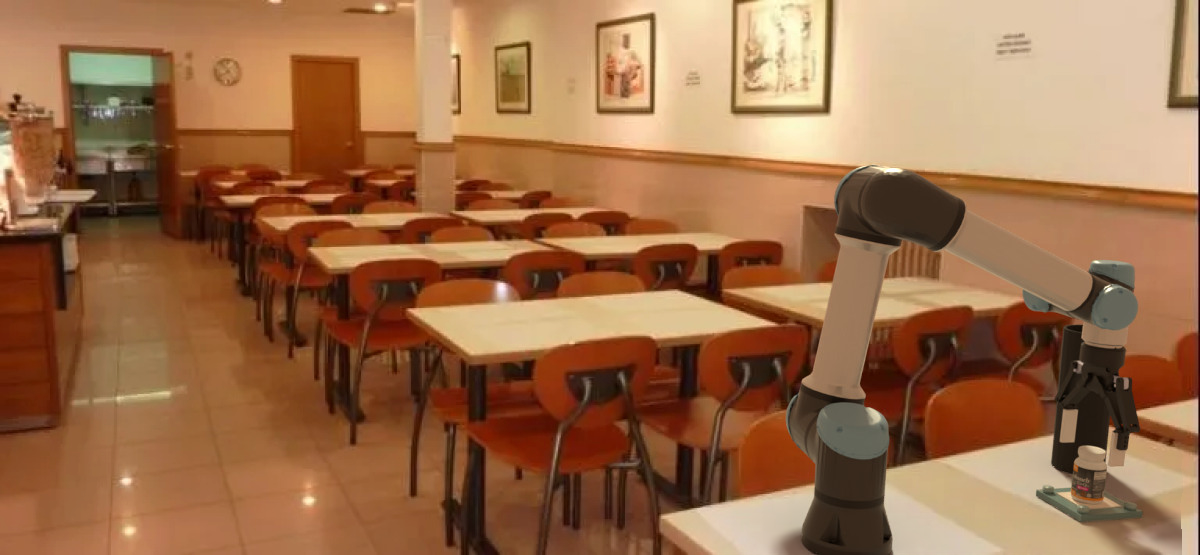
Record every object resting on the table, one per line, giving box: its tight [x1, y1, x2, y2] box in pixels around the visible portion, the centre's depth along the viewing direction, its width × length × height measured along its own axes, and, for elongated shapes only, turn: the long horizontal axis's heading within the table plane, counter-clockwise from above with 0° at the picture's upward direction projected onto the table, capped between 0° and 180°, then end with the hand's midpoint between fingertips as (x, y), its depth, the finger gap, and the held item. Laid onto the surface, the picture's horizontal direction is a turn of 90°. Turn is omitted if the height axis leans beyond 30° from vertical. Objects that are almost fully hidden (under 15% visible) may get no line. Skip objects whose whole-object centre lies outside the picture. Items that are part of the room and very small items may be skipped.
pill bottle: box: [1070, 446, 1108, 504], centre depth 186 cm, size 6×6×10 cm
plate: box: [1035, 484, 1144, 523], centre depth 187 cm, size 13×13×2 cm
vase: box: [1050, 324, 1113, 475], centre depth 207 cm, size 10×10×30 cm
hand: (1090, 453), depth 186 cm, fingers open, 13 cm apart
